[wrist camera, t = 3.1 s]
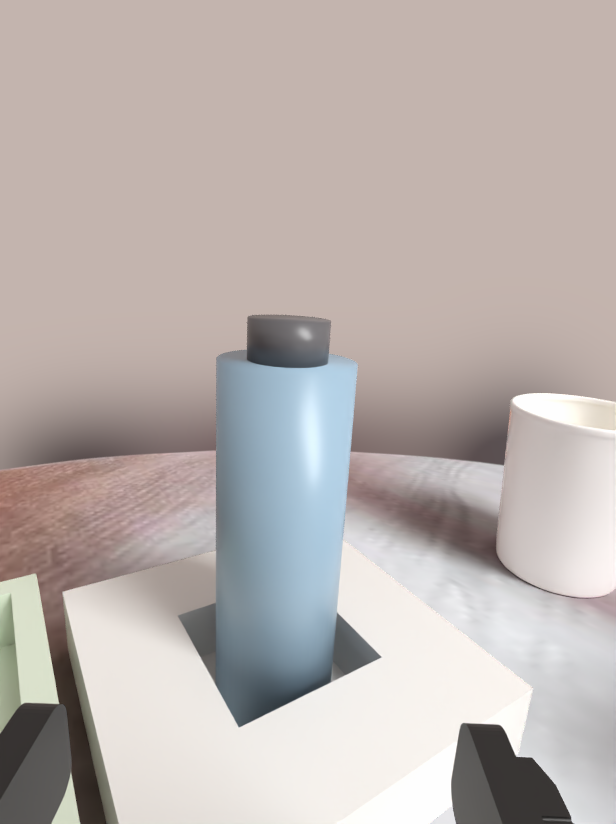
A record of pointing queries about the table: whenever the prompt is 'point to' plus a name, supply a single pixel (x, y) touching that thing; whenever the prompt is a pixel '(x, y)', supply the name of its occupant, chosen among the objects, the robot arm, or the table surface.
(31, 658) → the tray
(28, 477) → the table surface
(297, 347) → the bottle
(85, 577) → the table surface
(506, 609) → the table surface
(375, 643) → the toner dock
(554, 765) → the table surface
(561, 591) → the candle holder
